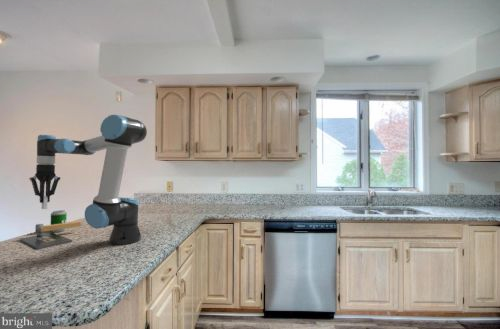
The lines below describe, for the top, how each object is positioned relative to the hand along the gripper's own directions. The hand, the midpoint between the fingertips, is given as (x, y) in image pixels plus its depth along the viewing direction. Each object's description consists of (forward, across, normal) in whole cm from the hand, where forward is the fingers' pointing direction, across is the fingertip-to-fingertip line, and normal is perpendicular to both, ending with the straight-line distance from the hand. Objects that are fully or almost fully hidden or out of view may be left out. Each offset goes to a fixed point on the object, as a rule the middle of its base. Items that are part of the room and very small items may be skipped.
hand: (44, 208), depth 129 cm
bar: (+13, -8, -4) cm, 16 cm away
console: (+17, 0, +3) cm, 17 cm away
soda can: (+17, -12, -15) cm, 26 cm away
